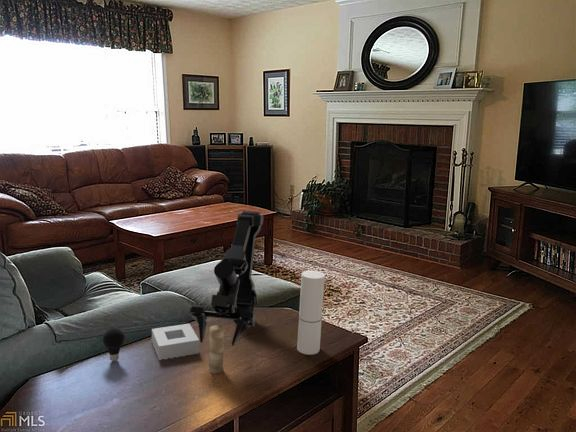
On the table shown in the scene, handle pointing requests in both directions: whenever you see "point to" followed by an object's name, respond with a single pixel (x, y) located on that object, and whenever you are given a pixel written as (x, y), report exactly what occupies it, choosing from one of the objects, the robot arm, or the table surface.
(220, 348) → the peg
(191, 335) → the socket block
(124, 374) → the table surface
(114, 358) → the light bulb
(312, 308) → the cylindrical container
